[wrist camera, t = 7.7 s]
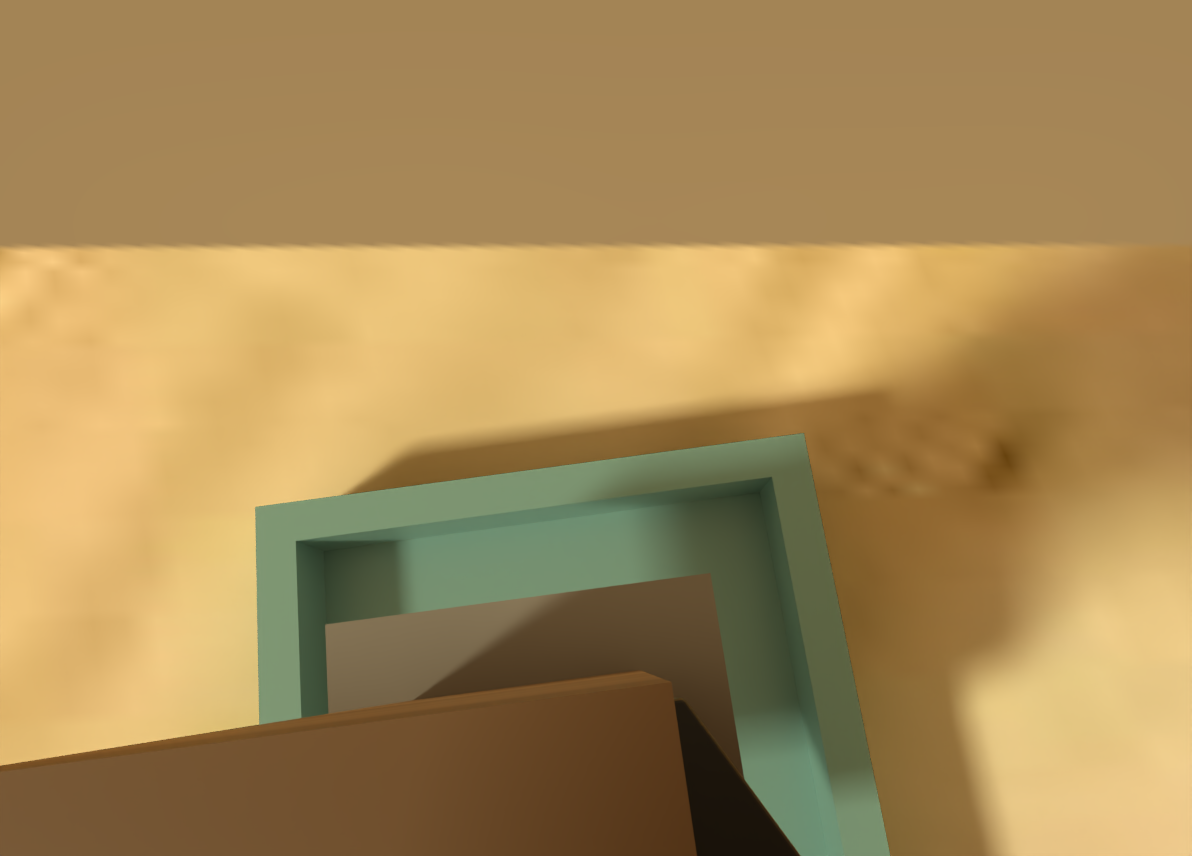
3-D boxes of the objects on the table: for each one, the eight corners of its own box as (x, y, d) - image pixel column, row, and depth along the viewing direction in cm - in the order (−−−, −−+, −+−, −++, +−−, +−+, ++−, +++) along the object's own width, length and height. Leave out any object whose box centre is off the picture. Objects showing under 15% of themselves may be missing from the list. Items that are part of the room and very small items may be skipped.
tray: (892, 1018, 20) (936, 1077, 17) (318, 1095, 20) (267, 1167, 17) (782, 460, 24) (803, 433, 21) (300, 525, 24) (255, 507, 21)
